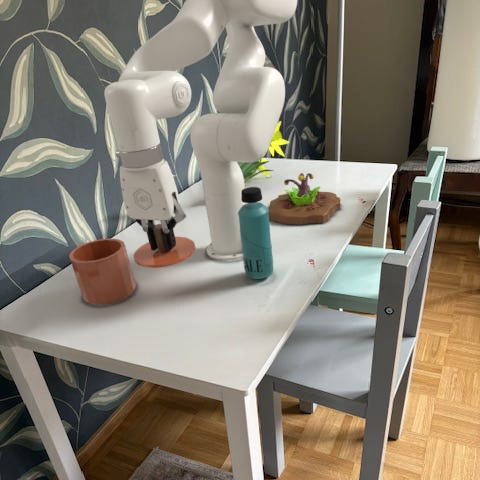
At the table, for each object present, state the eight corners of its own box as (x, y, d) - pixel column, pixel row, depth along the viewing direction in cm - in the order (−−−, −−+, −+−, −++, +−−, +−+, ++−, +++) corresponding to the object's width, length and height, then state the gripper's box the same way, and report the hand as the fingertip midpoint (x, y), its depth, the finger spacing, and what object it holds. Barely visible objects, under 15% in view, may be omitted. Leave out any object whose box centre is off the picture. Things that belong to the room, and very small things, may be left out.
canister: (145, 282, 109) (135, 240, 103) (116, 309, 100) (102, 264, 94) (104, 277, 113) (92, 236, 107) (73, 303, 104) (57, 260, 99)
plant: (259, 224, 130) (255, 183, 124) (278, 198, 145) (275, 161, 139) (333, 226, 123) (332, 183, 117) (344, 199, 138) (345, 160, 132)
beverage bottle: (273, 269, 107) (266, 181, 96) (276, 284, 101) (268, 192, 90) (244, 273, 107) (234, 185, 96) (245, 287, 102) (234, 196, 91)
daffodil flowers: (192, 200, 155) (254, 143, 170) (228, 226, 153) (287, 166, 168) (197, 163, 140) (264, 104, 155) (237, 191, 138) (301, 129, 153)
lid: (206, 243, 100) (201, 214, 96) (177, 273, 91) (170, 242, 87) (155, 239, 105) (148, 212, 101) (122, 267, 95) (114, 238, 92)
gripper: (93, 163, 87) (120, 253, 97) (170, 163, 80) (190, 260, 91) (117, 150, 92) (140, 237, 103) (190, 149, 86) (207, 242, 96)
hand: (163, 247), depth 97 cm, fingers closed on lid, 2 cm apart
